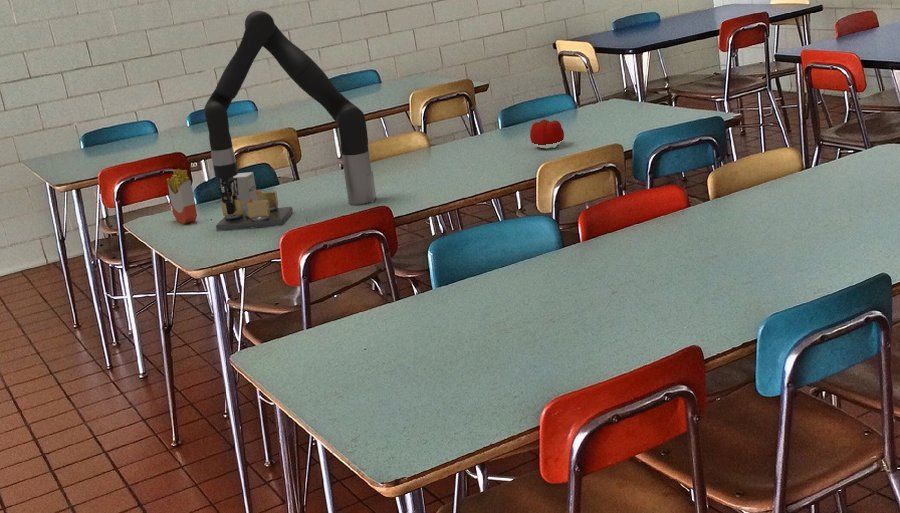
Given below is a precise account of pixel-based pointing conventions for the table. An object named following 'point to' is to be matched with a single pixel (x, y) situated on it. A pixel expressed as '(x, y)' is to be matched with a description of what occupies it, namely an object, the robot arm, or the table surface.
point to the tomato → (546, 132)
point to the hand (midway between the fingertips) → (233, 211)
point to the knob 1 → (237, 209)
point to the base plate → (245, 222)
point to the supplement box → (246, 188)
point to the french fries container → (182, 197)
